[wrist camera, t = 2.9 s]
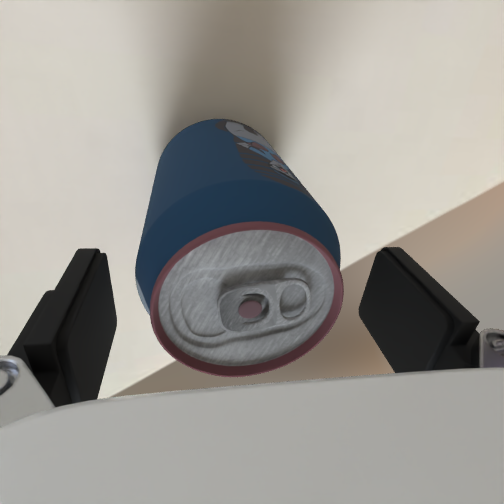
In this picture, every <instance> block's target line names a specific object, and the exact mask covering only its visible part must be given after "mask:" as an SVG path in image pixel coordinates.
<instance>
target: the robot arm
mask: <svg viewBox="0 0 504 504" xmlns="http://www.w3.org/2000/svg"><path fill="white" fill-rule="evenodd" d="M359 316H360V318H361V320H362V321H363V323H364V324H365V326H366V328H367V329H368V331H369V332H370V334H371V336H372V337H373V339H374V340H375V342H376V343H377V345H378V346H379V348H380V350H381V351H382V353H383V354H384V356H385V358H386V359H387V361H388V362H389V364H390V365H391V367H392V368H393V370H394V372H395V373H392V374H379V375H364V376H351V377H339V378H325V379H312V380H300V381H287V382H276V383H263V384H251V385H239V386H228V387H216V388H204V389H192V390H181V391H170V392H159V393H148V394H139V395H130V396H120V397H112V398H104V399H97V398H98V394H99V390H100V386H101V383H102V379H103V375H104V372H105V368H106V364H107V361H108V357H109V353H110V349H111V346H112V342H113V338H114V335H115V331H116V326H117V316H116V310H115V304H114V298H113V291H112V285H111V279H110V273H109V266H108V260H107V255H106V253H100V250H99V249H78V250H77V251H76V253H75V255H74V257H73V258H72V260H71V262H70V264H69V265H68V267H67V269H66V271H65V272H64V274H63V276H62V278H61V279H60V281H59V283H58V285H57V286H56V288H55V290H49V291H47V292H46V293H45V294H44V295H43V297H42V298H41V300H40V302H39V303H38V305H37V307H36V308H35V310H34V312H33V313H32V315H31V317H30V318H29V320H28V322H27V323H26V325H25V327H24V328H23V330H22V332H21V333H20V335H19V336H18V338H17V340H16V341H15V343H14V345H13V346H12V348H11V350H10V351H9V353H8V355H7V356H0V504H504V331H503V330H499V329H491V328H490V329H484V330H483V331H481V332H480V334H479V333H478V332H477V331H476V330H475V329H476V327H477V325H478V324H479V321H478V320H477V319H476V318H475V317H474V316H473V315H472V314H471V313H470V312H469V311H468V310H467V309H466V308H464V307H463V306H462V305H461V304H460V303H459V302H458V301H457V300H456V299H455V298H454V297H453V296H452V295H451V294H449V292H448V291H446V290H445V289H444V288H443V287H442V286H441V285H440V284H439V283H438V282H437V281H436V280H435V279H434V278H432V277H431V276H430V275H429V274H428V273H427V272H426V271H425V270H424V269H423V268H422V267H421V266H420V265H419V264H418V263H416V262H415V261H414V260H413V259H412V258H411V257H410V256H409V255H408V254H407V253H406V252H405V251H404V250H403V249H401V248H400V247H384V248H382V249H381V251H379V252H378V253H377V254H376V257H375V260H374V263H373V266H372V269H371V272H370V275H369V278H368V281H367V284H366V287H365V291H364V294H363V297H362V300H361V303H360V306H359Z"/></svg>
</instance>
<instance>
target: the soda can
mask: <svg viewBox="0 0 504 504" xmlns="http://www.w3.org/2000/svg"><path fill="white" fill-rule="evenodd" d="M340 259H341V257H340V245H339V240H338V236H337V233H336V230H335V228H334V226H333V224H332V222H331V221H330V219H329V217H328V216H327V215H326V213H325V212H324V211H323V209H322V208H321V207H320V206H319V204H318V203H317V202H316V201H315V200H314V198H313V197H312V196H311V195H310V193H309V192H308V191H307V190H306V189H305V187H304V186H303V185H302V184H301V182H300V181H299V180H298V179H297V177H296V176H295V175H294V174H293V173H292V171H291V170H290V169H289V168H288V166H287V165H286V164H285V163H284V162H283V160H282V159H281V158H280V157H279V155H278V154H277V153H276V152H275V150H274V149H273V148H272V147H271V146H270V144H269V143H268V142H267V141H266V140H265V138H264V137H263V136H262V135H260V134H259V133H258V132H257V131H255V130H254V129H252V128H251V127H249V126H247V125H245V124H242V123H240V122H236V121H232V120H226V119H211V120H205V121H201V122H198V123H195V124H193V125H191V126H189V127H187V128H185V129H184V130H182V131H181V132H179V133H178V134H177V135H176V136H175V137H174V138H173V139H172V140H171V141H170V142H169V143H168V145H167V146H166V148H165V149H164V151H163V153H162V155H161V157H160V160H159V163H158V167H157V171H156V175H155V180H154V184H153V189H152V193H151V197H150V202H149V206H148V211H147V215H146V219H145V224H144V228H143V233H142V237H141V241H140V246H139V250H138V255H137V259H136V267H135V277H136V285H137V290H138V293H139V296H140V299H141V301H142V303H143V305H144V307H145V309H146V311H147V312H148V314H149V315H150V318H151V324H152V328H153V331H154V333H155V335H156V337H157V339H158V341H159V342H160V344H161V345H162V347H163V348H164V349H165V350H166V351H167V352H168V353H169V354H170V355H171V356H172V357H173V358H175V359H176V360H177V361H179V362H180V363H182V364H184V365H186V366H188V367H190V368H192V369H194V370H197V371H200V372H203V373H207V374H211V375H215V376H222V377H244V376H251V375H256V374H261V373H264V372H269V371H272V370H275V369H277V368H280V367H283V366H285V365H287V364H289V363H291V362H293V361H295V360H297V359H299V358H300V357H302V356H303V355H305V354H306V353H308V352H309V351H310V350H312V349H313V348H314V347H315V346H316V345H317V344H319V343H320V341H321V340H322V339H323V338H324V337H325V336H326V335H327V334H328V332H329V331H330V330H331V328H332V327H333V325H334V323H335V321H336V319H337V317H338V315H339V313H340V310H341V306H342V302H343V292H344V289H343V279H342V275H341V272H340Z"/></svg>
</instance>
